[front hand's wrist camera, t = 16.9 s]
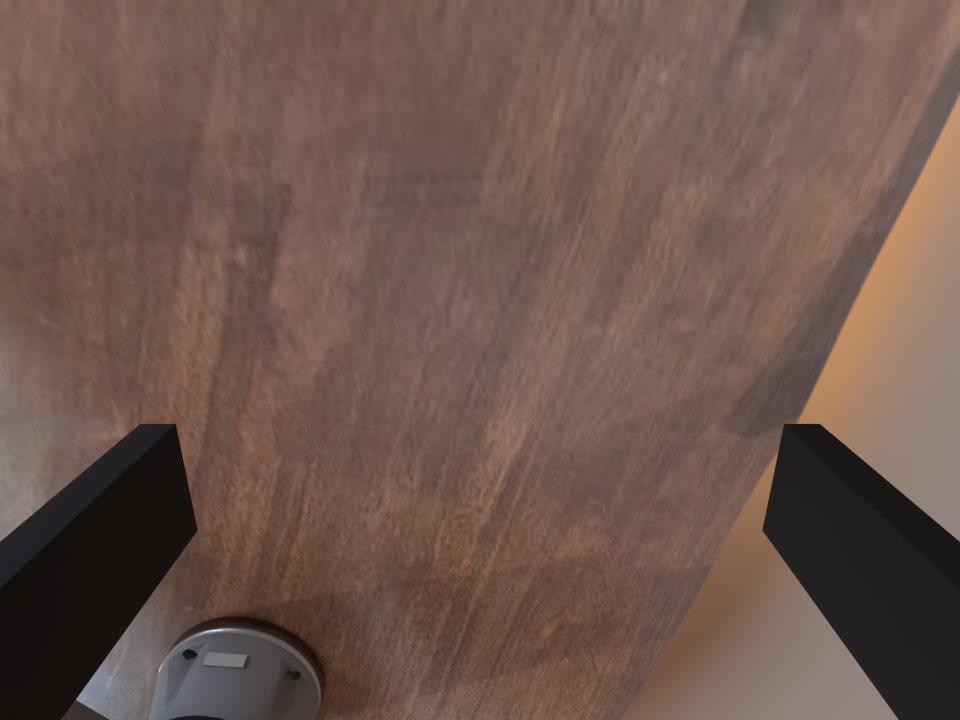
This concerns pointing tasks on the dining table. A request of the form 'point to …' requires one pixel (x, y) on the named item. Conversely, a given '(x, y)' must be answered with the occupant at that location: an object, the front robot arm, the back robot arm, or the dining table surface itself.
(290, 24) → the dining table surface
